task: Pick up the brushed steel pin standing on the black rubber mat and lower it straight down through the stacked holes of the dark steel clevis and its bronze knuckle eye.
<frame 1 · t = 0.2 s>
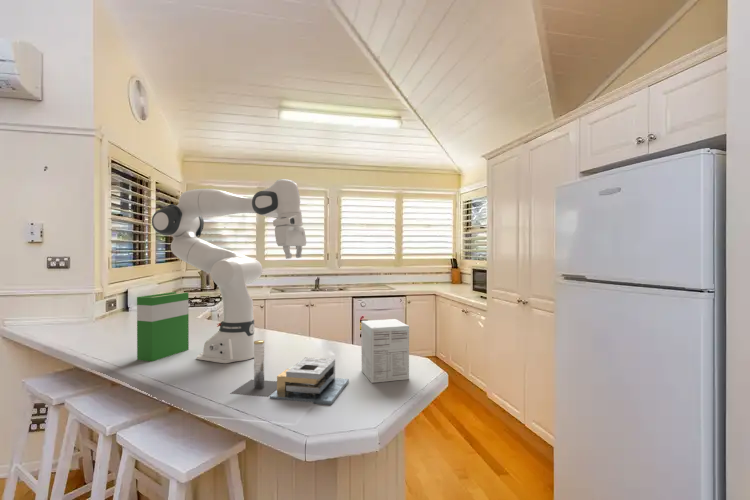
hand: (294, 258, 144), 39 cm above the table, tool pointing down, fingers open, 8 cm apart
pin: (259, 387, 115), resting on mat
supplement box: (384, 375, 128), on the table
mat: (259, 388, 115), on the table
hardback book: (164, 354, 152), on the table
clevis: (309, 392, 112), on the table
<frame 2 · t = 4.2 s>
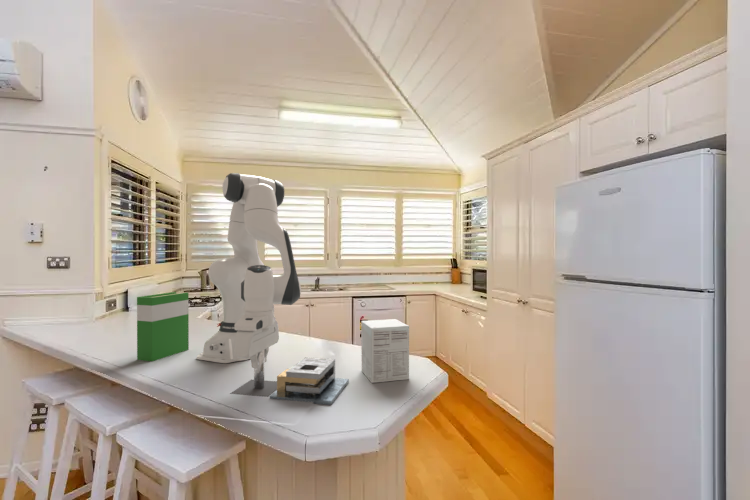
hand: (259, 365, 115), 7 cm above the table, tool pointing down, fingers closed on pin, 3 cm apart
pin: (259, 387, 115), resting on mat, touching gripper
everything else where it was.
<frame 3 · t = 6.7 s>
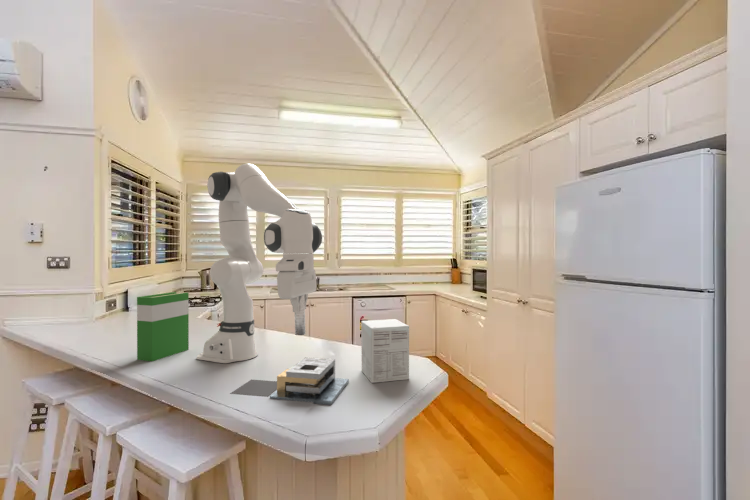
hand: (299, 310, 112), 24 cm above the table, tool pointing down, fingers closed on pin, 3 cm apart
pin: (300, 334, 112), point 17 cm above the table, touching gripper
everything else where it was.
when the fingers open (9 cm above the table, at t = 9.7 s): pin drops 1 cm, resting on clevis.
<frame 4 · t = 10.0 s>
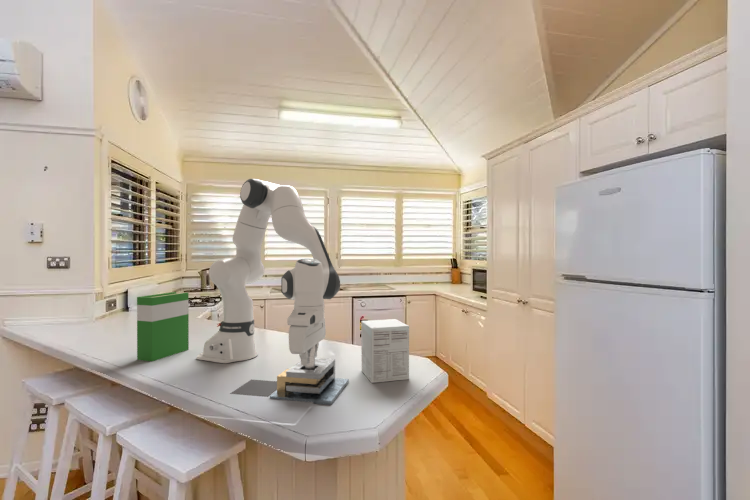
hand: (309, 361, 112), 9 cm above the table, tool pointing down, fingers open, 5 cm apart
pin: (309, 389, 112), point 1 cm above the table, touching clevis
everything else where it was.
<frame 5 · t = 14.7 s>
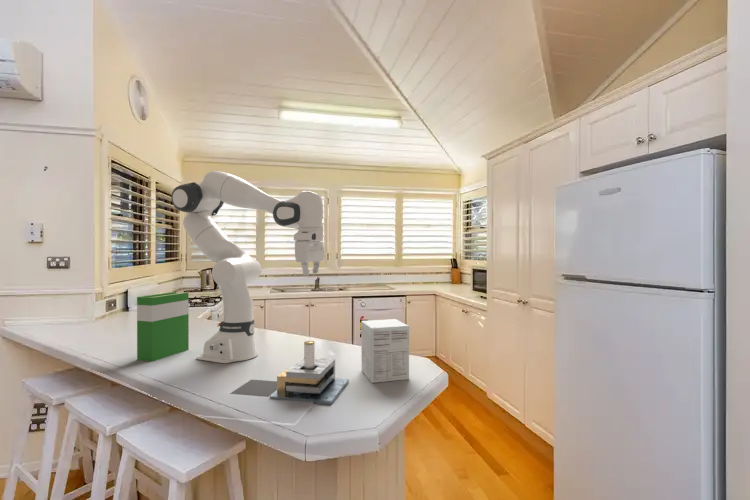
hand: (311, 274, 138), 33 cm above the table, tool pointing down, fingers open, 8 cm apart
nothing on the table moved.
at the end: pin 0.0 cm off-centre on the clevis, point 1.0 cm above the clevis's base; pin tilted 0°; the gripper is holding nothing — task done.
